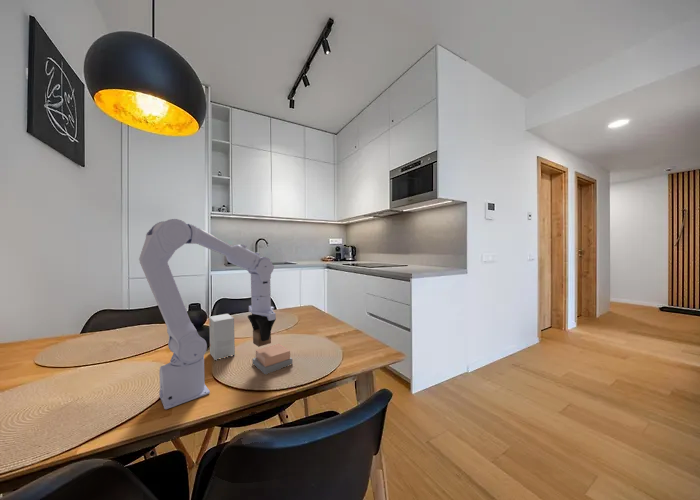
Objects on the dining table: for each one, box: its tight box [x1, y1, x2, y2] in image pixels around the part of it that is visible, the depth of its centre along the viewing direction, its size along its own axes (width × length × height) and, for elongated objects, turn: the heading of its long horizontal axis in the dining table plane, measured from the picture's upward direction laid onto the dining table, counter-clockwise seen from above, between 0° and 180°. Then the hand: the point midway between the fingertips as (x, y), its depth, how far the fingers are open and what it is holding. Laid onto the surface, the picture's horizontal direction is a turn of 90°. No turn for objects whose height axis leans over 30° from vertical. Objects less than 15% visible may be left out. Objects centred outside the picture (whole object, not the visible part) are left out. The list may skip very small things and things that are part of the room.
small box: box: [208, 313, 236, 361], centre depth 89 cm, size 8×6×13 cm
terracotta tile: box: [255, 343, 291, 367], centre depth 82 cm, size 8×8×2 cm
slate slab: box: [252, 356, 293, 375], centre depth 81 cm, size 9×9×2 cm
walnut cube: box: [252, 329, 272, 348], centre depth 80 cm, size 4×4×4 cm
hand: (262, 338), depth 80 cm, fingers closed on walnut cube, 4 cm apart
